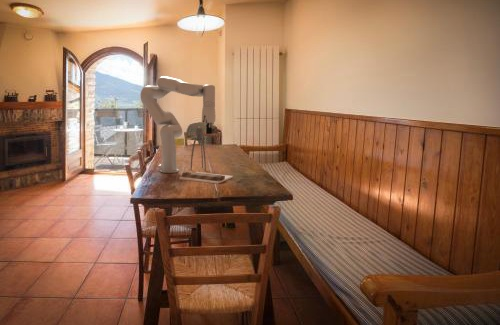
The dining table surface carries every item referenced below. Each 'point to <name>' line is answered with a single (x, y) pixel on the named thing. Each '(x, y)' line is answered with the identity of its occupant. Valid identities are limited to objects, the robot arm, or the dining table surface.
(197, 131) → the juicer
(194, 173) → the tongs arm
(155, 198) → the dining table surface
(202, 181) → the board
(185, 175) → the tongs base
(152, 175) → the dining table surface
